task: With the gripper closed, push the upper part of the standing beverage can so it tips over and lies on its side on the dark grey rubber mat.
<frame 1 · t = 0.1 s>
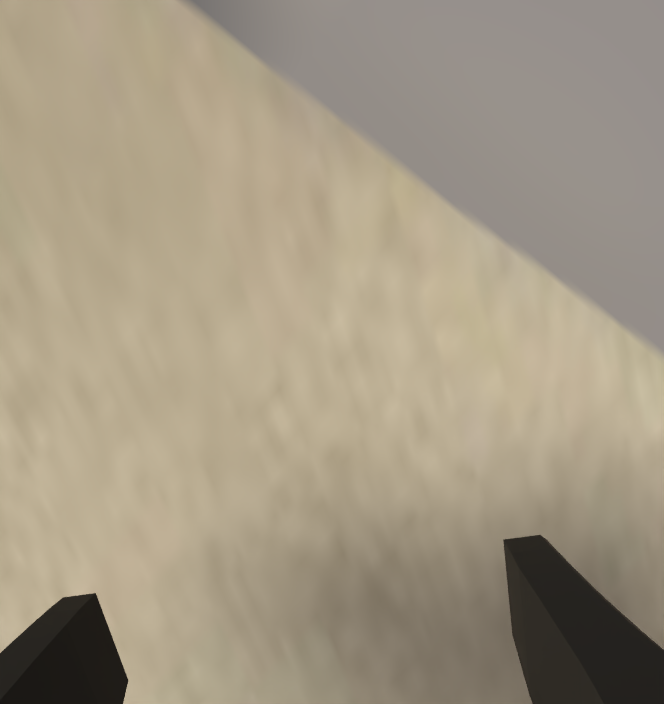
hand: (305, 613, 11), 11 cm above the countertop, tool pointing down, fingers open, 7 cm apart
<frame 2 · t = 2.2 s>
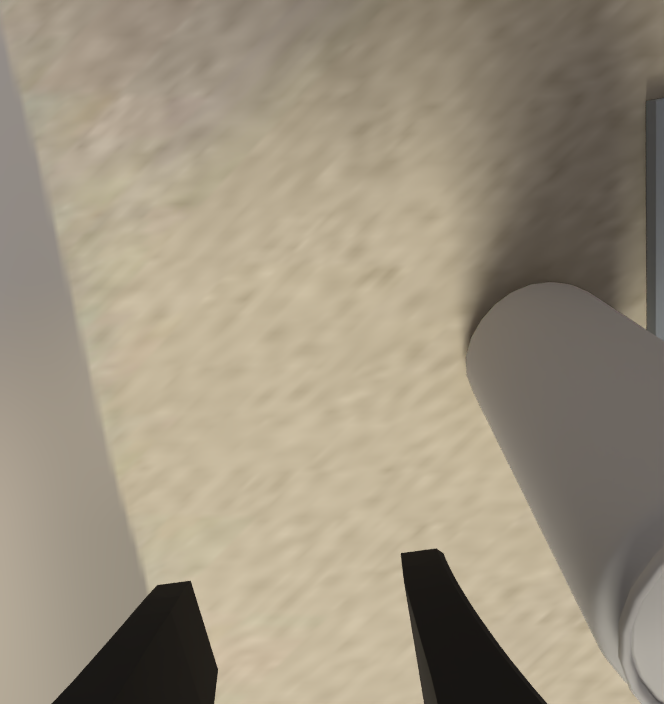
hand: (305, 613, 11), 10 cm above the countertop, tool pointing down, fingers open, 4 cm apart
beverage can: (534, 348, 20), on the countertop
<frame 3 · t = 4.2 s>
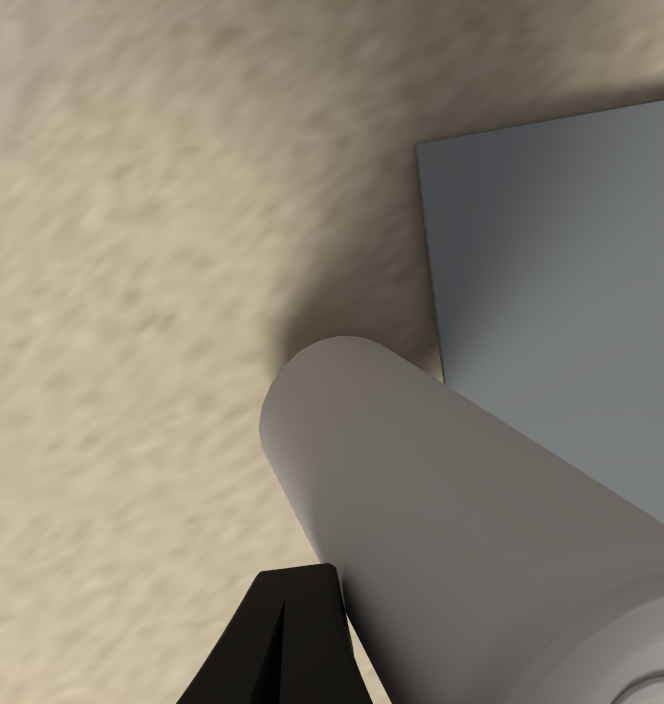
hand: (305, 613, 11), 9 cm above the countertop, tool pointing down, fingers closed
beverage can: (332, 407, 18), point 1 cm above the countertop
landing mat: (644, 352, 18), on the countertop
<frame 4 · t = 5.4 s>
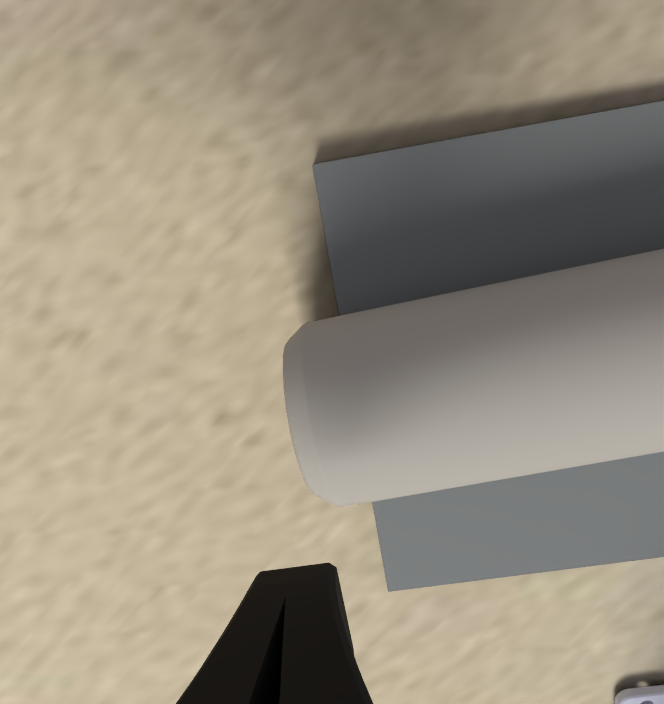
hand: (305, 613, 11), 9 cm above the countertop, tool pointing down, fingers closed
beverage can: (294, 418, 16), point 3 cm above the countertop, touching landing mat
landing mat: (551, 367, 19), on the countertop
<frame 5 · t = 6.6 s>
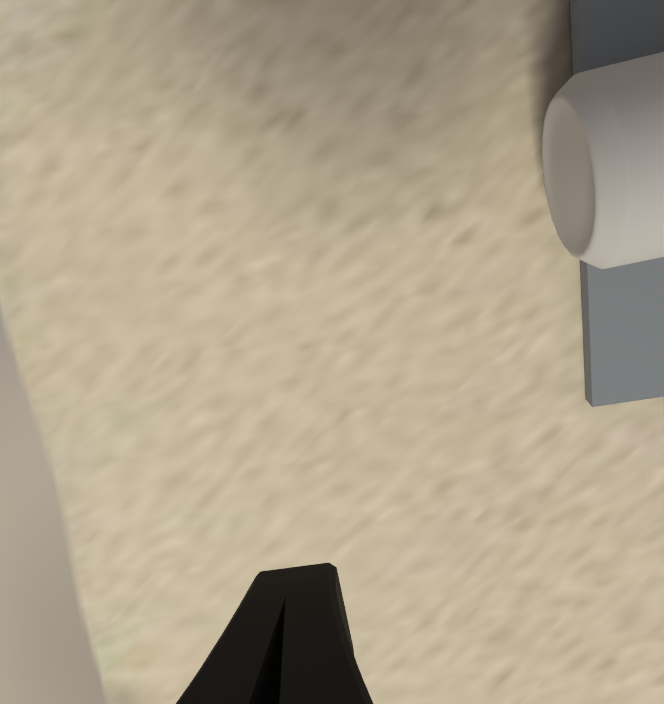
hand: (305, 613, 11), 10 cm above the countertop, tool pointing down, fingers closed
beverage can: (557, 180, 15), point 3 cm above the countertop, touching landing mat
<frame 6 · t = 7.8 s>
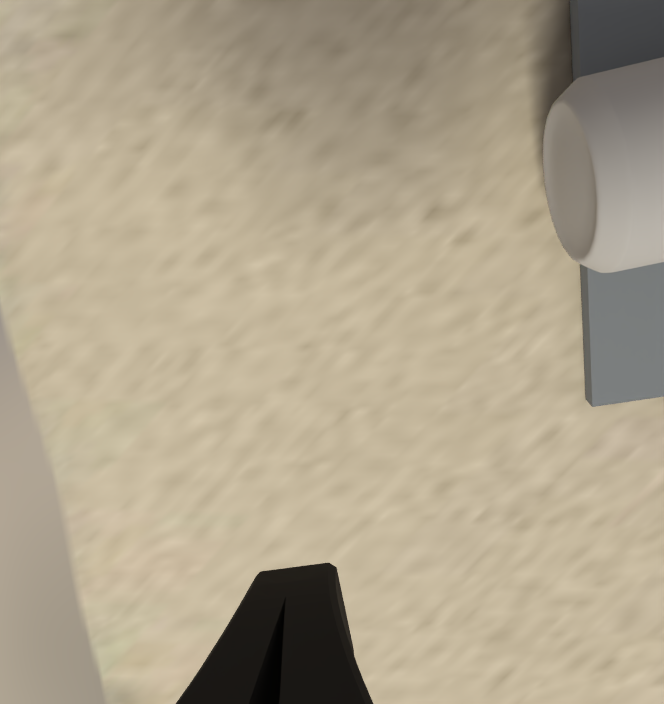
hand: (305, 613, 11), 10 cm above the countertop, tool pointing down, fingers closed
beverage can: (559, 185, 15), point 3 cm above the countertop, touching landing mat
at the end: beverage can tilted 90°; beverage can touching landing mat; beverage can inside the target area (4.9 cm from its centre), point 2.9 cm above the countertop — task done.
